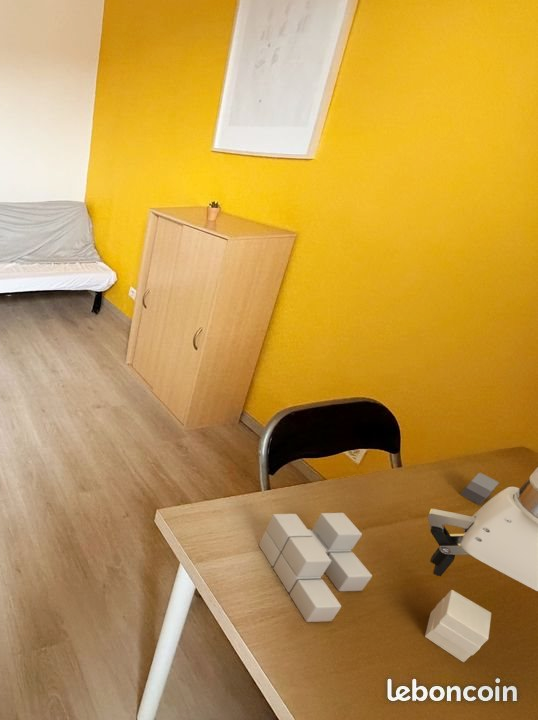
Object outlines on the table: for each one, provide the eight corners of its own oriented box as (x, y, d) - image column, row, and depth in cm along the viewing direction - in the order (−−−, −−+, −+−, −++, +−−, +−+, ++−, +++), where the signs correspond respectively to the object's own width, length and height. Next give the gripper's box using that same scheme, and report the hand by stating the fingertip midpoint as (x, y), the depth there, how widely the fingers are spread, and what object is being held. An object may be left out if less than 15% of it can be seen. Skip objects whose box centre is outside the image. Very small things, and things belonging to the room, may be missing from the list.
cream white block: (444, 597, 60) (451, 589, 59) (483, 620, 57) (491, 612, 56) (438, 621, 57) (446, 613, 56) (480, 647, 54) (488, 639, 53)
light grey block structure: (306, 622, 60) (327, 590, 56) (257, 544, 71) (273, 513, 67) (384, 619, 61) (410, 588, 57) (325, 543, 71) (343, 512, 68)
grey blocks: (468, 486, 83) (479, 471, 81) (489, 497, 81) (501, 483, 79) (458, 494, 81) (469, 479, 80) (479, 506, 79) (491, 491, 77)
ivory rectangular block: (429, 612, 62) (443, 596, 60) (468, 636, 59) (484, 621, 57) (423, 637, 59) (437, 621, 57) (464, 664, 56) (480, 648, 54)
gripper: (700, 545, 43) (590, 633, 51) (467, 450, 55) (407, 533, 62) (715, 593, 39) (593, 681, 46) (459, 479, 50) (396, 565, 58)
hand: (487, 596), depth 54 cm, fingers open, 9 cm apart
